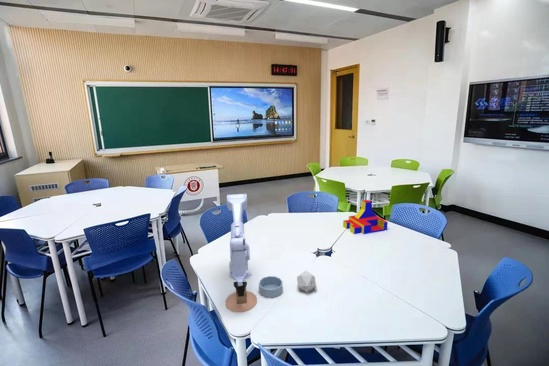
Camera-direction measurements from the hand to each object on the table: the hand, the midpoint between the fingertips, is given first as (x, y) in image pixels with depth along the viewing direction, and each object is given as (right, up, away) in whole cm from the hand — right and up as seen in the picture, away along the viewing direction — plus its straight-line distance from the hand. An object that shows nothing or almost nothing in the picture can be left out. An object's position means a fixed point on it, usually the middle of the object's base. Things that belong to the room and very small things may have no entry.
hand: (240, 290), depth 126 cm
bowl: (+13, -4, +9) cm, 16 cm away
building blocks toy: (+79, +15, +78) cm, 112 cm away
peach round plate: (0, -6, +1) cm, 6 cm away
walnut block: (0, -5, +1) cm, 5 cm away
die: (+30, -3, +10) cm, 32 cm away
